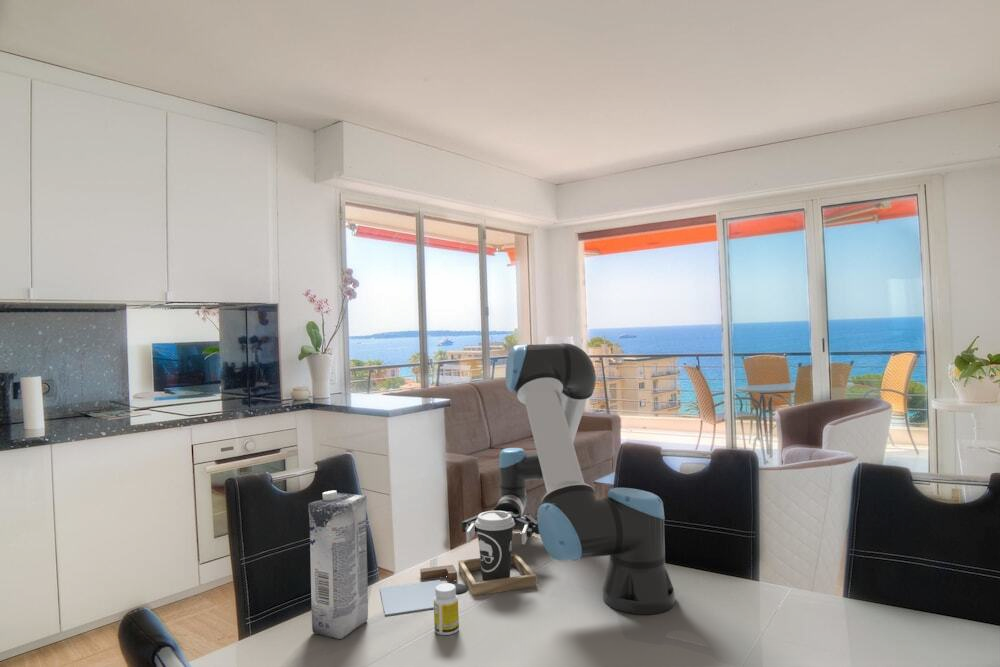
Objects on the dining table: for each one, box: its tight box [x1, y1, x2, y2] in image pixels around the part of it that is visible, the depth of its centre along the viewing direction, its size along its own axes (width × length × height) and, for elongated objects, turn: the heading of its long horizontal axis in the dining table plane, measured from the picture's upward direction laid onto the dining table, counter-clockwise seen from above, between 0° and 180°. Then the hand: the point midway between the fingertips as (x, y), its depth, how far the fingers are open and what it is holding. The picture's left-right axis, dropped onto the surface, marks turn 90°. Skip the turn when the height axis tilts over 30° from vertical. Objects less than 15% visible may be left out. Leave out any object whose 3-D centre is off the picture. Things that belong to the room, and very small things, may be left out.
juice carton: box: [307, 489, 369, 640], centre depth 120 cm, size 9×10×27 cm
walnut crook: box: [419, 564, 458, 582], centre depth 143 cm, size 5×8×2 cm, turn 105°
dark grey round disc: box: [454, 583, 469, 595], centre depth 137 cm, size 5×5×1 cm
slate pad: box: [379, 579, 443, 617], centre depth 133 cm, size 14×14×1 cm
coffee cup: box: [475, 510, 515, 581], centre depth 142 cm, size 10×10×15 cm
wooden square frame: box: [458, 553, 537, 597], centre depth 142 cm, size 15×15×2 cm
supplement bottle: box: [433, 582, 460, 636], centre depth 118 cm, size 5×5×8 cm
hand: (495, 537), depth 145 cm, fingers open, 13 cm apart
